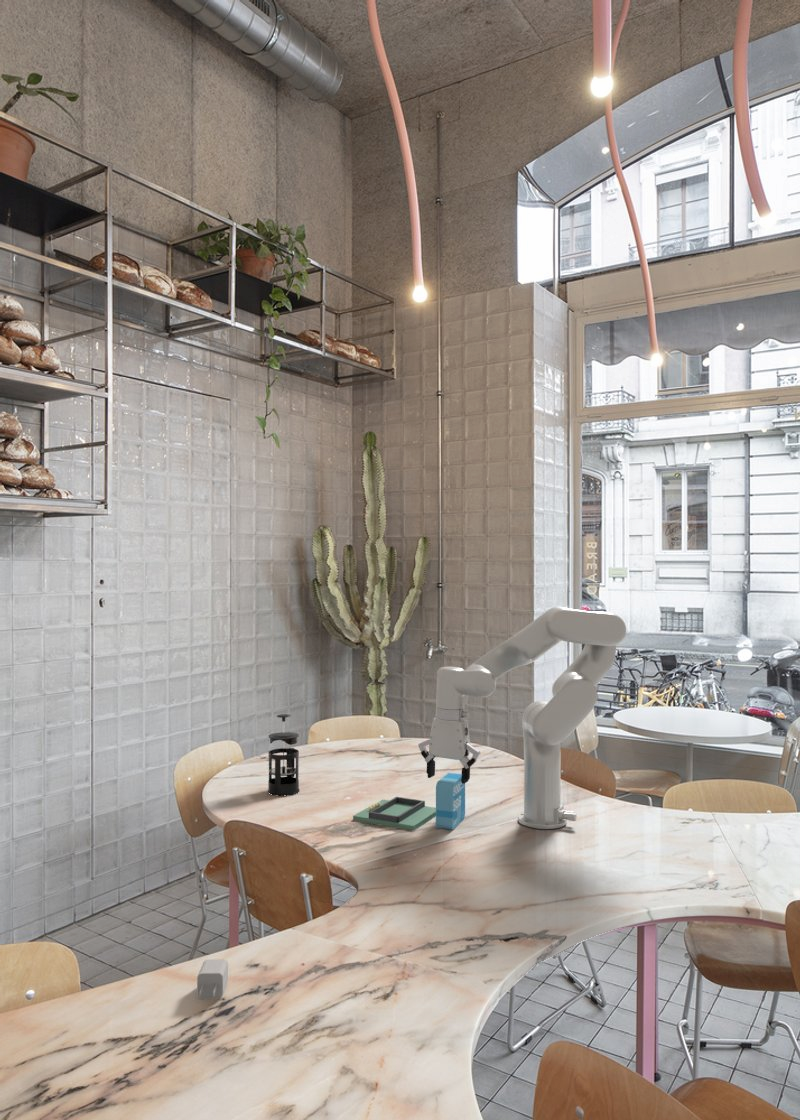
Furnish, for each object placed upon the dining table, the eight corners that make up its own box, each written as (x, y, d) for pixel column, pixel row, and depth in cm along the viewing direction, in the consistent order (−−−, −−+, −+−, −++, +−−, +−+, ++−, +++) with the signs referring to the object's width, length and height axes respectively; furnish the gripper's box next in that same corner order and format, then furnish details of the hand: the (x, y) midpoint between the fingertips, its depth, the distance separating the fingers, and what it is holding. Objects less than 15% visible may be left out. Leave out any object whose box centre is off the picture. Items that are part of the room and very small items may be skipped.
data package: (452, 831, 202) (452, 784, 202) (435, 829, 204) (435, 782, 204) (465, 817, 213) (465, 772, 213) (449, 815, 215) (449, 771, 215)
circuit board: (440, 812, 217) (440, 803, 217) (413, 830, 203) (413, 820, 203) (382, 803, 226) (382, 794, 226) (353, 820, 211) (353, 810, 211)
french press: (291, 798, 231) (291, 718, 231) (261, 795, 233) (261, 717, 233) (306, 787, 242) (306, 711, 242) (277, 785, 245) (277, 710, 245)
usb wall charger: (228, 984, 129) (227, 959, 129) (219, 1007, 122) (219, 981, 122) (203, 984, 129) (203, 959, 129) (193, 1008, 122) (193, 982, 122)
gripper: (486, 716, 208) (483, 781, 208) (426, 708, 216) (424, 771, 216) (475, 720, 201) (473, 788, 201) (414, 712, 209) (411, 777, 209)
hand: (447, 779), depth 209 cm, fingers open, 9 cm apart
